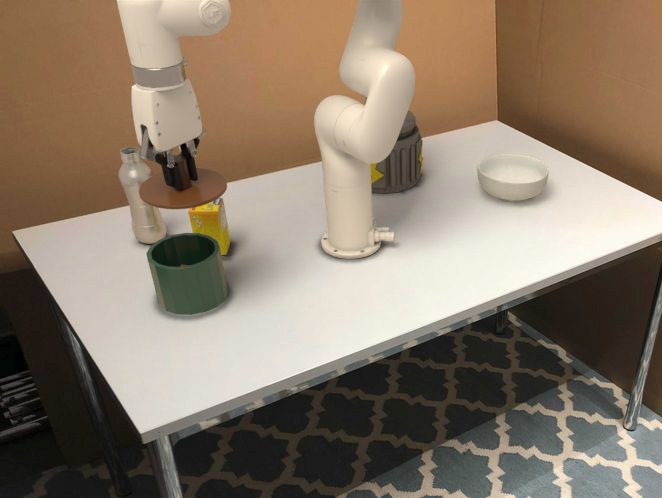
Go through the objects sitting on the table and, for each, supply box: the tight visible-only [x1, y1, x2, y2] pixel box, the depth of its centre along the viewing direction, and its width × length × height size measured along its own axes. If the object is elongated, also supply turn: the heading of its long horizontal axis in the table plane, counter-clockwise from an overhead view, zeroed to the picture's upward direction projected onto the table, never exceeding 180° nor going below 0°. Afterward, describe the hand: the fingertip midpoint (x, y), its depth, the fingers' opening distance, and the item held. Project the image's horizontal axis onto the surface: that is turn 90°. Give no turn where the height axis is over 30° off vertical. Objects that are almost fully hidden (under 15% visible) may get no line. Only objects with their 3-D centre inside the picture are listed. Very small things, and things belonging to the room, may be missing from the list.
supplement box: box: [187, 196, 232, 258], centre depth 156 cm, size 6×6×11 cm
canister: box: [146, 232, 229, 316], centre depth 143 cm, size 13×13×10 cm
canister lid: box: [139, 154, 228, 210], centre depth 128 cm, size 14×14×6 cm
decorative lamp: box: [364, 97, 424, 194], centre depth 180 cm, size 19×19×30 cm
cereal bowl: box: [476, 153, 550, 203], centre depth 183 cm, size 17×17×7 cm
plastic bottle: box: [117, 146, 167, 245], centre depth 156 cm, size 6×7×20 cm
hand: (182, 181), depth 129 cm, fingers closed on canister lid, 2 cm apart
